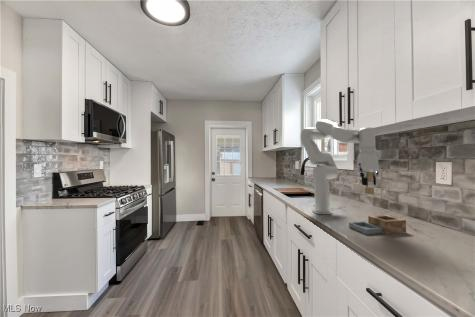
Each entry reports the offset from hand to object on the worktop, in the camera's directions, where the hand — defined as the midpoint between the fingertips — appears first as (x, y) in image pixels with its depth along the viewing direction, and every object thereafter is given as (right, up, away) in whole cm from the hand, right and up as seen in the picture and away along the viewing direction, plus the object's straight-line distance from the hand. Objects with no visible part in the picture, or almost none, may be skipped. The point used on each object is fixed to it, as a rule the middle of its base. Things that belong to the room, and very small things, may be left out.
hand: (368, 184), depth 118 cm
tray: (-6, -22, -8) cm, 24 cm away
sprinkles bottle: (0, -5, 0) cm, 5 cm away
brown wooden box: (+4, -22, -8) cm, 23 cm away
